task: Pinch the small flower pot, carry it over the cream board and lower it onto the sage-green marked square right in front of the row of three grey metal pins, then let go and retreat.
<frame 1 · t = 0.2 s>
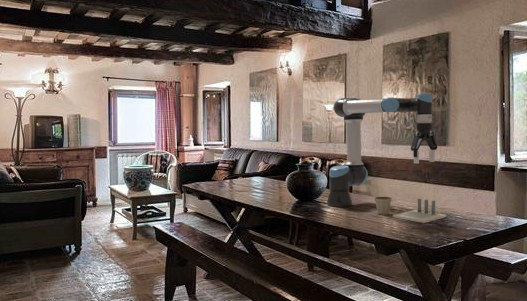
hand: (424, 162, 230), 27 cm above the table, fingers open, 13 cm apart
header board: (419, 217, 223), on the table
flower pot: (383, 214, 234), on the table
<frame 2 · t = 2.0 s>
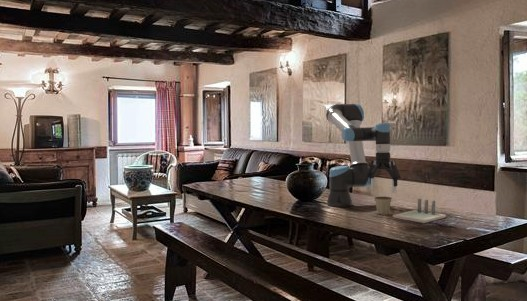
hand: (383, 191, 233), 12 cm above the table, fingers open, 13 cm apart
nothing on the table moved.
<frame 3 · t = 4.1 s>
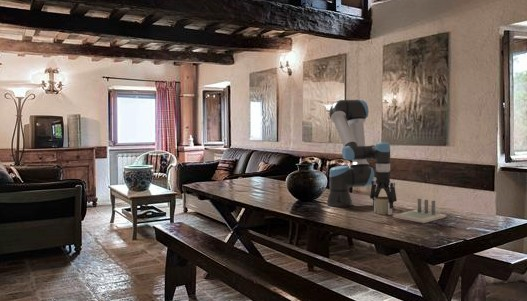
hand: (383, 213, 234), 0 cm above the table, fingers closed on flower pot, 8 cm apart
flower pot: (383, 214, 234), on the table, touching gripper
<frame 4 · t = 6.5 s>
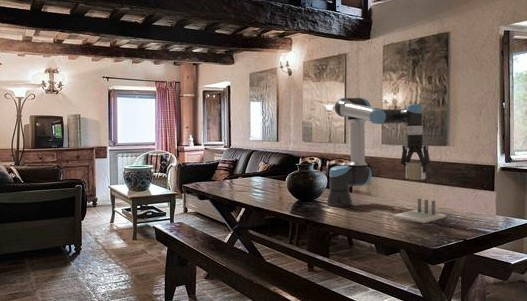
hand: (415, 178, 222), 20 cm above the table, fingers closed on flower pot, 8 cm apart
flower pot: (415, 179, 222), point 20 cm above the table, touching gripper
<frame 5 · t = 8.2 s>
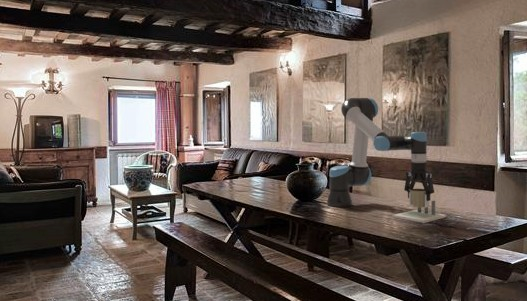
hand: (418, 205, 222), 6 cm above the table, fingers closed on flower pot, 8 cm apart
flower pot: (418, 206, 222), point 5 cm above the table, touching gripper
when the fingers open (3 cm above the table, at t = 9.1 s): flower pot moves 4 cm, resting on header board.
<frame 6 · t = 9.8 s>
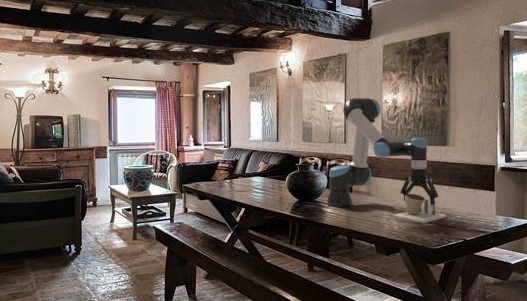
hand: (418, 209, 223), 4 cm above the table, fingers open, 13 cm apart
flower pot: (412, 212, 226), point 2 cm above the table, touching gripper, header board
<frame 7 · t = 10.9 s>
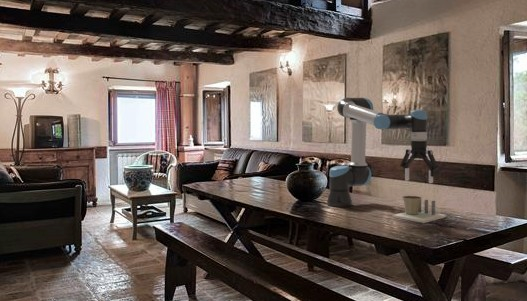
hand: (418, 181, 222), 18 cm above the table, fingers open, 13 cm apart
flower pot: (411, 213, 226), point 1 cm above the table, touching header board
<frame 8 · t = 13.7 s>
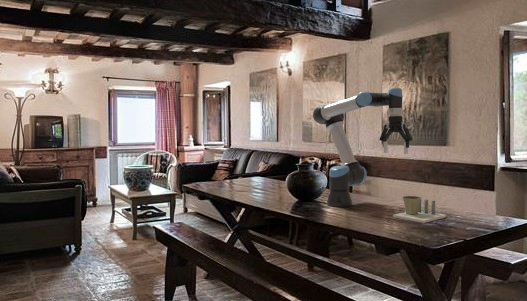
hand: (395, 153, 246), 32 cm above the table, fingers open, 13 cm apart
nothing on the table moved.
at the end: flower pot inside the target area on the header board (4.0 cm from its centre), point 1.1 cm above the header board's base; flower pot tilted 0°; the gripper is holding nothing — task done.
